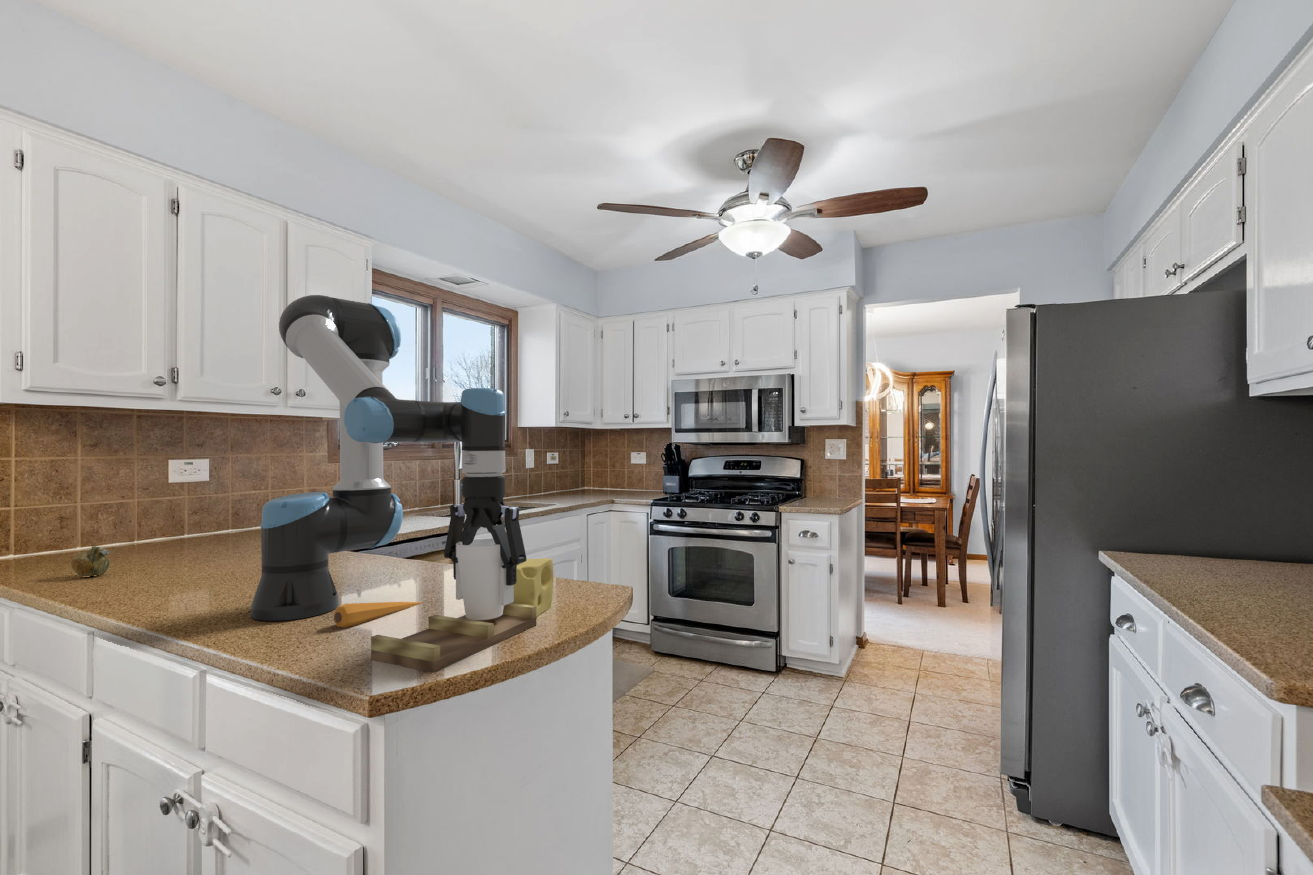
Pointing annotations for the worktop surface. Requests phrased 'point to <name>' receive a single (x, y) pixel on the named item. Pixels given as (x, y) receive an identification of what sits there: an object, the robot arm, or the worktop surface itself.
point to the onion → (91, 562)
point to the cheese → (535, 584)
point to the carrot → (366, 612)
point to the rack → (452, 638)
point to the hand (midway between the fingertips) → (484, 600)
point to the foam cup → (480, 578)
